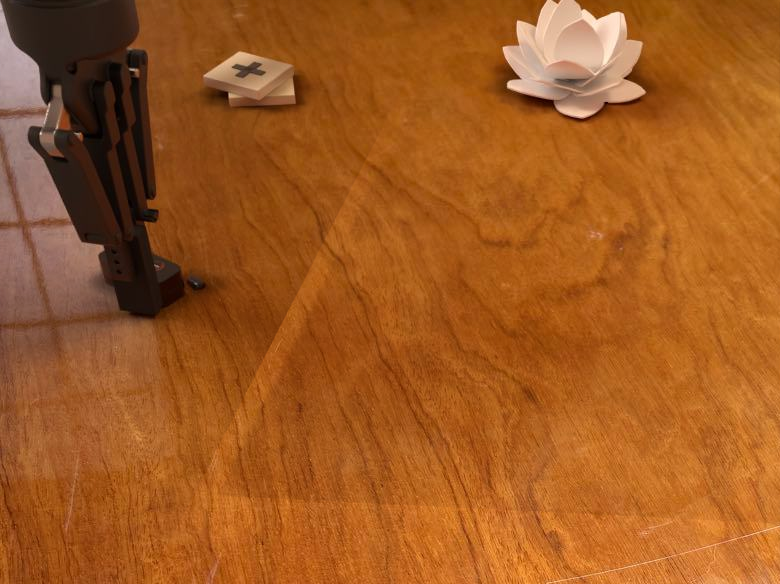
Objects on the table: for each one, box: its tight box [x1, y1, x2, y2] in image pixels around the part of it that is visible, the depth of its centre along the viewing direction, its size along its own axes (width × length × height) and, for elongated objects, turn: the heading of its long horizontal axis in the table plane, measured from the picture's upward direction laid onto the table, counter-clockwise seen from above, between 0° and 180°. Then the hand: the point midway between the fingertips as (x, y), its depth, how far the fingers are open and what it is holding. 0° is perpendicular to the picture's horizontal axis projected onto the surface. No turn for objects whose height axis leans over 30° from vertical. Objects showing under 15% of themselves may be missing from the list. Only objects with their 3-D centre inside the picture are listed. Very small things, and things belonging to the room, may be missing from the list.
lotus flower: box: [502, 0, 647, 119], centre depth 113 cm, size 14×15×9 cm
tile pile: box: [202, 51, 297, 108], centre depth 110 cm, size 8×8×3 cm
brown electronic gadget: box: [97, 249, 211, 309], centre depth 88 cm, size 5×7×3 cm, turn 58°
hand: (141, 306), depth 85 cm, fingers closed
